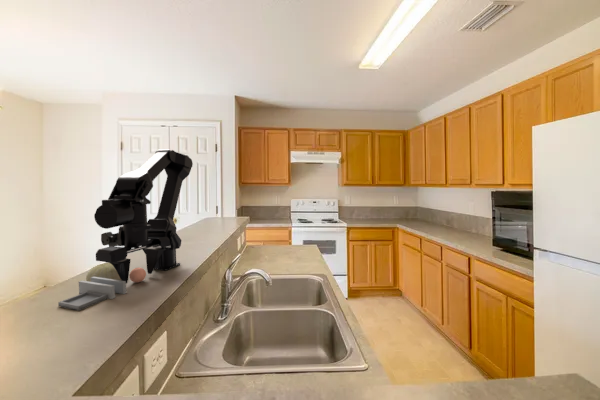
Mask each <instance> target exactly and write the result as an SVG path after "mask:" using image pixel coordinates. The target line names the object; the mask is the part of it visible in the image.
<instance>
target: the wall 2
mask: <svg viewBox="0 0 600 400" xmlns="http://www.w3.org/2000/svg"><path fill="white" fill-rule="evenodd" d="M91 282H95V283H101V284H108V285H114V286H115V294H121V295H124V294H127V283H126V281H122V280H114V279H108V278H101V277H91Z"/></svg>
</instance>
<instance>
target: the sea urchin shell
mask: <svg viewBox="0 0 600 400" xmlns="http://www.w3.org/2000/svg"><path fill="white" fill-rule="evenodd" d="M91 277H101V278H108V279H114V280H121V279H120V277H119V275H118V273H117V271H116V269H115V268H114V266H113V265H112V264H111V263H108V262H103V263H99V264H97V265H95V266H93V267H92V268H91V269H90V270H89V271H88V272H87V274H86V277H85V281H89V282H91ZM121 281H122V280H121Z"/></svg>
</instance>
